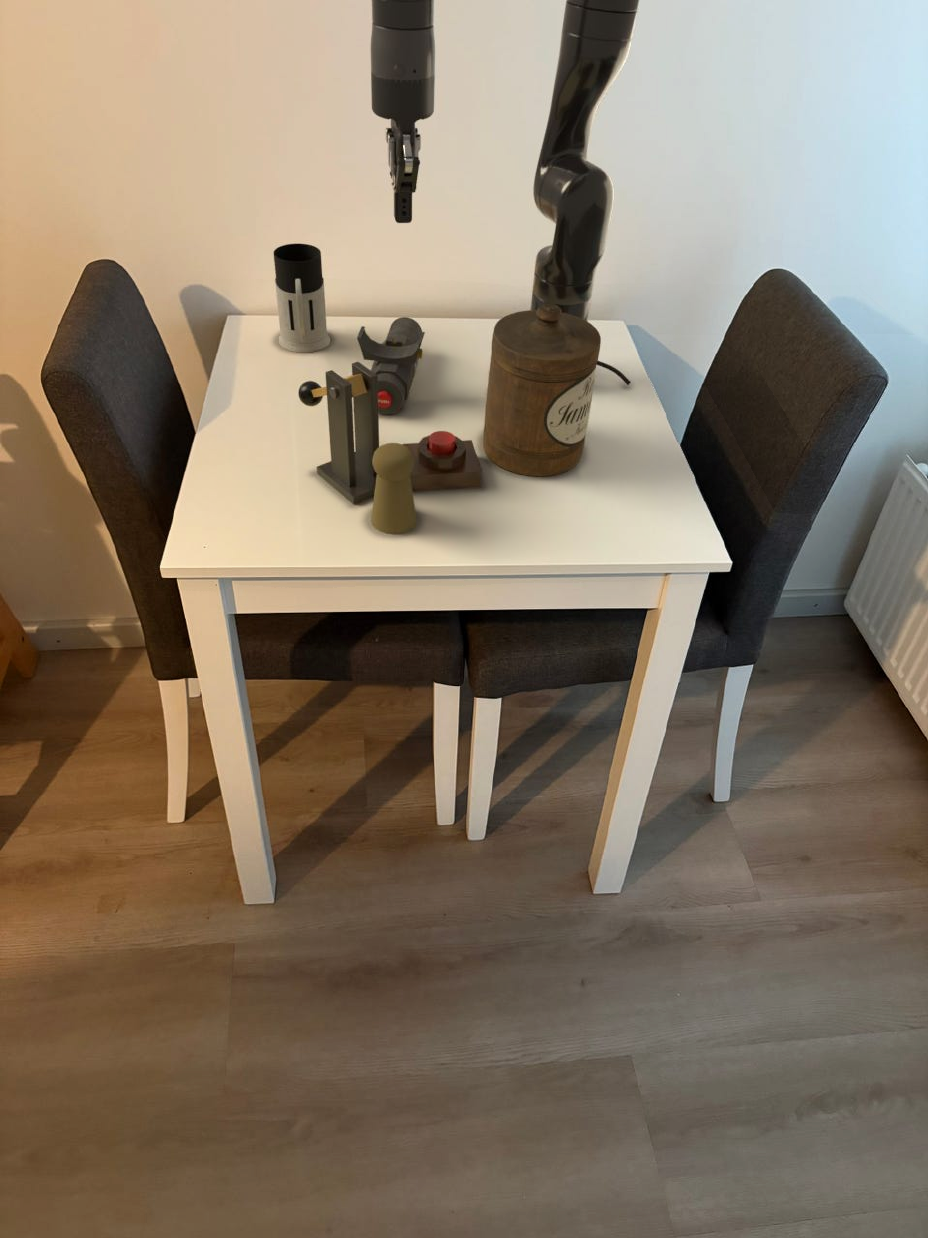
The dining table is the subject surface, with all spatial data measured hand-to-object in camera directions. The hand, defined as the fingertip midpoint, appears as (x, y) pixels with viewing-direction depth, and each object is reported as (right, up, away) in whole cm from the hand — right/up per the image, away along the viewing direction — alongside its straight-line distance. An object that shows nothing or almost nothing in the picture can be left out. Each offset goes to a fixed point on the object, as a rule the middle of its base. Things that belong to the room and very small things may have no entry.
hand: (402, 220), depth 116 cm
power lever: (-9, -23, +3) cm, 25 cm away
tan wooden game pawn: (-1, -39, +1) cm, 39 cm away
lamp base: (+5, -32, +9) cm, 33 cm away
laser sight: (-3, -14, +27) cm, 31 cm away
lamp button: (+5, -29, +6) cm, 30 cm away
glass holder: (-19, -6, +34) cm, 40 cm away
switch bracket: (-7, -33, +7) cm, 34 cm away
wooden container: (+18, -27, +15) cm, 36 cm away
